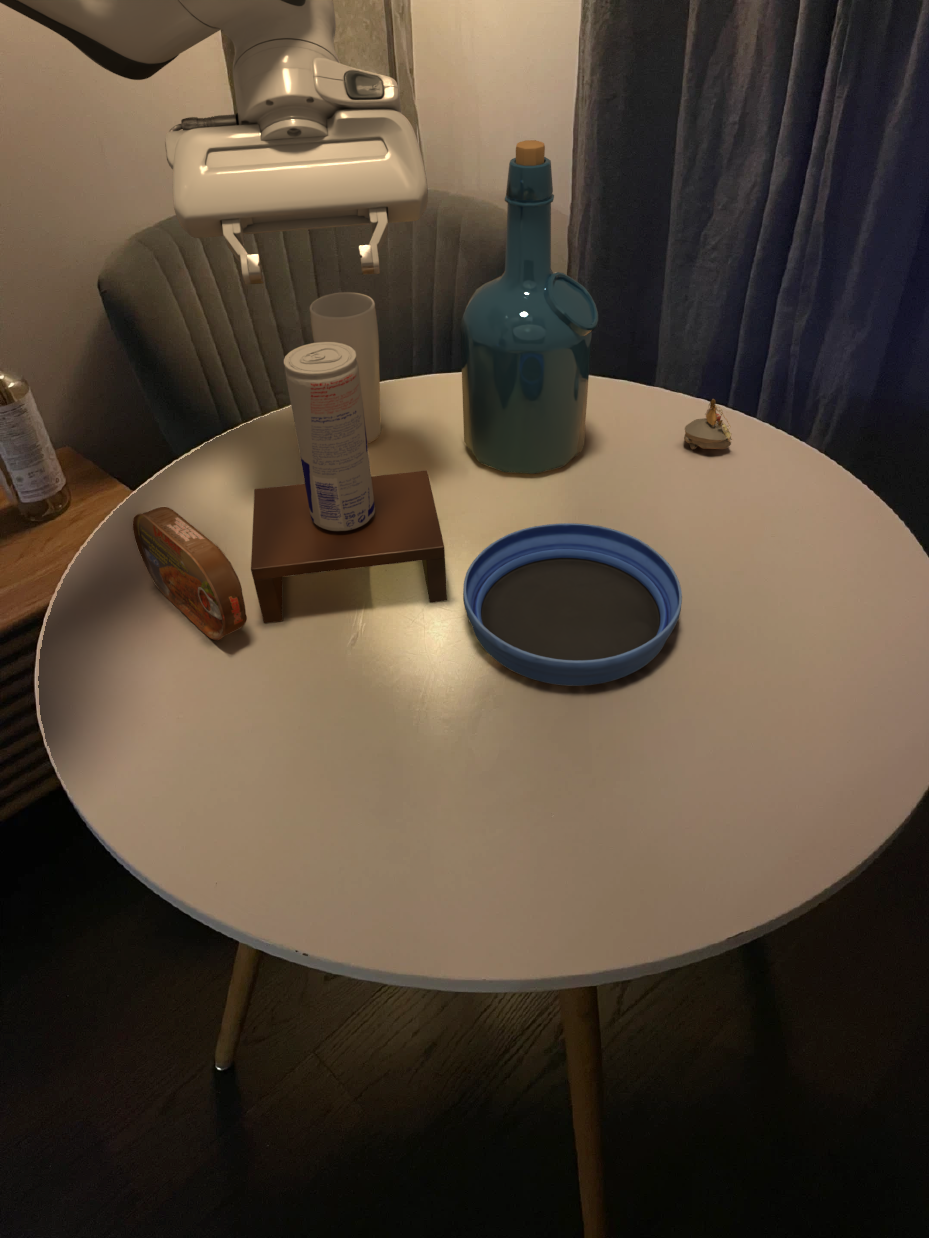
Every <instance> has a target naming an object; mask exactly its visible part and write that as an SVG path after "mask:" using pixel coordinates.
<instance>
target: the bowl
mask: <svg viewBox="0 0 929 1238" xmlns="http://www.w3.org/2000/svg"><path fill="white" fill-rule="evenodd" d="M678 577H679V576H678V575H677V573H676V571H675V570H674V568H673V567H672V566H671V565H670V563H669V562H668V561H667V559H665V558H664V557H663V555H662V554H660V553H659V552H658V551H657V550H655V549H654V548H653V547H651V546H650V545H649V544H648V543H646V542H644V541H643V540H642V539H639V538H637V537H635V536H634V535H631V534H628V533H626V532H623V531H621V530H617V529H614V528H611V527H606V526H602V525H596V524H589V523H577V522H576V523H574V522H570V523H569V522H564V523H562V522H560V523H549V524H541V525H534V526H530V527H526V528H525V527H524V528H522V529H519V530H516V531H513V532H510V533H508V534H506V535H504V536H502V537H500V538H498V539H497V540H495V541H493V542H492V543H490V544H489V545H488V546H486V547H485V548H484V549H482V551H481V552H480V553H479V554H478V555H477V556H476V557H475V558H474V559H473V560H472V562H471V563H470V565H469V566H468V569H467V570H466V573H465V576H464V580H463V591H462V592H463V593H462V600H463V601H462V602H463V606H464V610H465V612H466V615H467V618H468V621H469V623H470V625H471V627H472V630H473V633H474V635H475V637H476V639H477V642H479V644H480V646H481V647H482V648H483V649H484V650H485V652H487V654H488V655H489V656H490V657H491V658H493V659H494V660H495V661H496V662H498V663H499V664H501V665H502V666H503V667H505V668H507V669H508V670H510V671H512V672H514V673H516V674H517V675H520V676H523V677H525V678H527V679H531V680H534V681H537V682H541V683H546V684H551V685H558V686H570V687H575V686H576V687H580V686H581V687H582V686H583V687H584V686H592V685H600V684H604V683H609V682H613V681H617V680H619V679H622V678H625V677H627V676H629V675H631V674H633V673H635V672H638V671H639V670H641V669H642V668H644V667H645V666H646V665H648V664H650V663H651V661H653V660H654V658H656V657H657V656H658V654H659V653H660V652H661V651H662V650H663V648H664V646H665V644H666V643H667V640H668V639H669V637H670V636H671V634H672V632H673V631H674V629H675V627H676V625H677V624H678V621H679V619H680V615H681V612H682V611H681V610H682V603H683V592H682V587H681V583H680V580H679V578H678Z"/></svg>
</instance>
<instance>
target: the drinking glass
mask: <svg viewBox="0 0 929 1238" xmlns="http://www.w3.org/2000/svg"><path fill="white" fill-rule="evenodd" d="M309 319H310V327H311V335H312V340H313V343H318V342H336V343H342V344H345V345H348V346H350V347H351V348H353V349H354V350H355V352H356V361H357V363H358V368H359V377H360V386H361V394H362V403H363V411H364V420H365V428H366V437H367V445H368V444H370V443H372V442H374V441H376V440H377V439H378V438H379V437H380V435H381V433H382V419H381V381H380V378H381V377H380V376H381V374H380V371H381V370H380V368H381V367H380V364H381V363H380V362H381V361H380V335H379V324H378V323H379V322H378V317H377V309H376V303H375V300H374V299H373V298H372V297H371V296H369V295H367V294H364V293H360V292H353V291H352V292H351V291H341V292H333V293H329V294H325V295H322V296H320V297H318V298H316V299H315V300H313V301H312V302H311V304H310V305H309Z"/></svg>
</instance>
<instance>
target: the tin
mask: <svg viewBox="0 0 929 1238" xmlns="http://www.w3.org/2000/svg"><path fill="white" fill-rule="evenodd" d="M132 533H133V537H134V541H135V544H136V547H137V550H138V553H139V555H140V557H141V560H142V562H143V564H144V567H145V568H146V570H147V573H148V575H149V576H150V578H151V580H152V581H153V583H154V585H155V586H156V587H157V589H158V590H159V591H160V593H162V595H163V596H164V597H165V598H166V599H167V600H168V601H169V602H171V604H172V605H174V606H175V607H176V609H178V610H179V611H180V612H181V613H182V614H183V615H184V616H185V617H186V618H188V619H189V621H190V622H192V623H193V624H194V625H195V626H196V627H197V628H198V629H199V630H200V631H201V632H202V633H203V634H204V635H205V636H206V637H207V638H209V639H211V640H213V641H219V640H221V639H223V637H226V636H227V635H229V634H231V633H234V632H236V631H238V630H239V629H241V628H243V626H245V625H246V623H247V621H248V620H247V619H248V616H247V612H246V611H247V610H246V604H245V600H244V595H243V588H242V583H241V581H240V579H239V577H238V575H237V573H236V570H235V568H234V567H233V565H232V563H231V561H230V560H229V559H228V557H227V556H226V555H225V553H224V552H223V550H221V549H220V548H219V546H218V545H217V544H216V543H214V542H213V540H211V539H209V537H207V536H206V535H205V534H203V532H201V531H200V530H198V528H196V527H195V526H194V525H192V524H191V522H189V521H187V520H186V519H185V518H184V517H183V516H181V515H180V514H179V513H178V512H176V511H175V510H174V509H172V508H170V507H168V506H158V507H156V508H153V509H150V510H147V511H145V512H141V513H136V514H135V515H134V516H133V517H132Z"/></svg>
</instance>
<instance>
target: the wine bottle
mask: <svg viewBox="0 0 929 1238" xmlns="http://www.w3.org/2000/svg"><path fill="white" fill-rule="evenodd" d="M545 153H546V145H545V143H544V142H542V141H540V140H536V139H534V140H533V139H527V140H526V139H525V140H522V141H519V142H517V143H516V146H515V157H514V158H513V157H512V159H510V160H509V164H508V171H507V181H506V191H505V195H504V196H505V197H504V202H505V203H507V205H506V206H507V208H506V209H507V210H506V213H507V214H506V231H505V232H506V235H505V236H506V237H505V238H506V239H505V262H504V271H503V272H502V274H501V275H498V276H497V277H494V278H493V279H491V280H490V281H488V282H485V283H484V284H482V285H481V286H480V287H478V288H476V289H475V290H474V292H473V293H471V295H470V296H469V298H468V300H467V303H466V306H465V307H464V311H463V314H462V318H461V321H460V330H459V331H460V356H461V357H460V359H461V387H462V388H461V389H462V390H461V391H462V419H463V420H462V421H463V442H464V444H465V446H466V447H467V449H468V450H469V451H470V452H471V454H472V455H473V457H474V458H475V459H476V460H477V461H478V463H479V464H482V465H484V466H487V467H489V468H493V469H495V470H497V471H499V472H503V473H509V474H510V473H512V474H530V475H531V474H533V475H536V474H540V473H544V472H548V471H552V470H556V469H560V468H563V467H565V466H567V464H569V463H570V462H571V461H572V460H574V459H575V458H576V457H577V456H578V455H580V453H581V452H582V451H583V449H584V447H585V435H586V434H585V433H586V419H587V407H588V406H587V405H588V391H589V378H590V365H591V364H590V363H591V352H592V351H591V350H592V336H593V335H592V334H593V331H594V330H595V329H596V328H597V326H598V323H599V312H598V308H597V305H596V302H595V300H594V299H593V297H592V295H591V294H590V292H589V291H588V290H587V288H586V287H585V286H584V285H582V284H581V283H580V282H578V281H577V280H575V279H574V278H573V277H571V276H569V275H567V274H566V273H564V272H561V271H555V272H554V271H553V270H552V203H554V199H555V194H553V192H554V188H553V176H552V175H553V174H552V173H553V172H552V161H551V160H550V159H549V158H547V157H546V156H545V155H546V154H545Z"/></svg>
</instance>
